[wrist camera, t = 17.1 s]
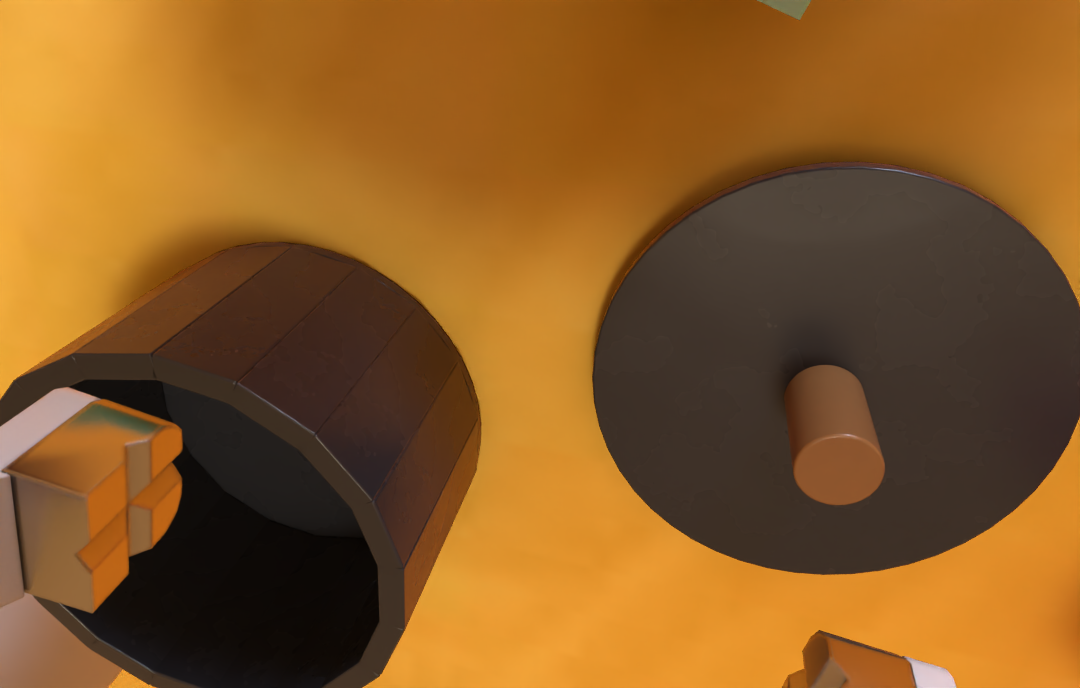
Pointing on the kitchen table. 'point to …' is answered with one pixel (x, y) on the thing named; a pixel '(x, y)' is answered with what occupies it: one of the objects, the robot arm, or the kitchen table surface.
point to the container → (789, 6)
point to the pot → (277, 467)
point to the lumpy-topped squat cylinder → (46, 651)
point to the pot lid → (839, 368)
